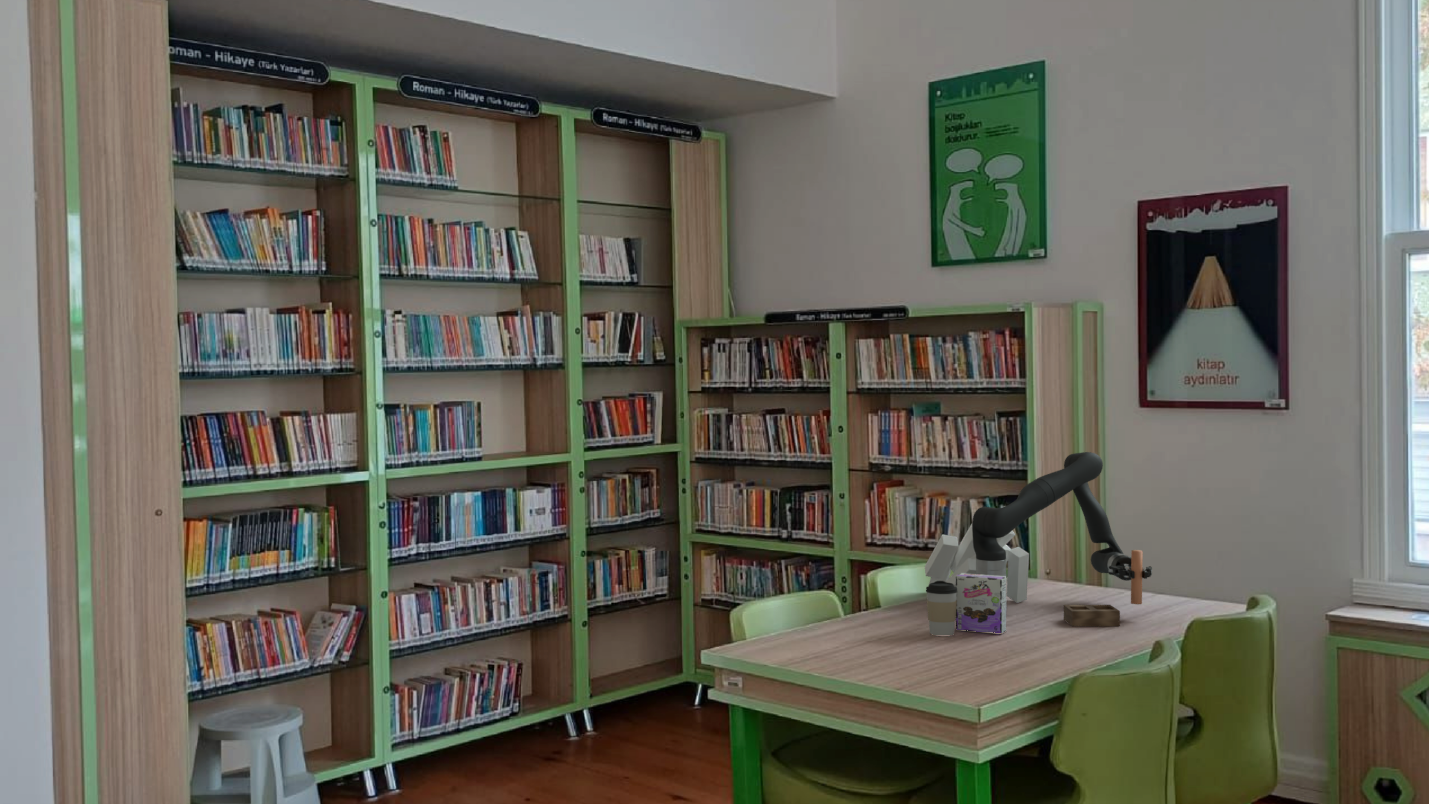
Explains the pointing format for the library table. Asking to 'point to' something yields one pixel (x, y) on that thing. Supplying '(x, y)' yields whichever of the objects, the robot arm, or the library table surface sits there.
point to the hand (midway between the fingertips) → (1139, 575)
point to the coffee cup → (941, 607)
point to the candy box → (981, 603)
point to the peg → (1136, 576)
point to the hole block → (1091, 615)
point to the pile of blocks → (964, 561)
